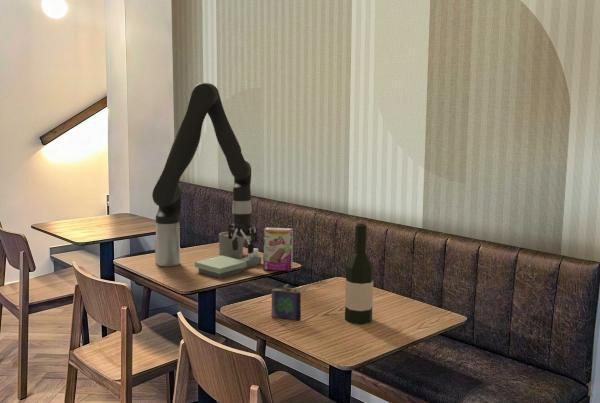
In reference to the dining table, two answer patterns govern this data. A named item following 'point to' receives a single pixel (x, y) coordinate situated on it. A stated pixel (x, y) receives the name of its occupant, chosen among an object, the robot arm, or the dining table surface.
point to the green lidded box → (220, 266)
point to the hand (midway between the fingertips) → (242, 251)
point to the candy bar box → (278, 249)
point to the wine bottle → (359, 281)
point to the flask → (286, 304)
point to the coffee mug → (230, 246)
